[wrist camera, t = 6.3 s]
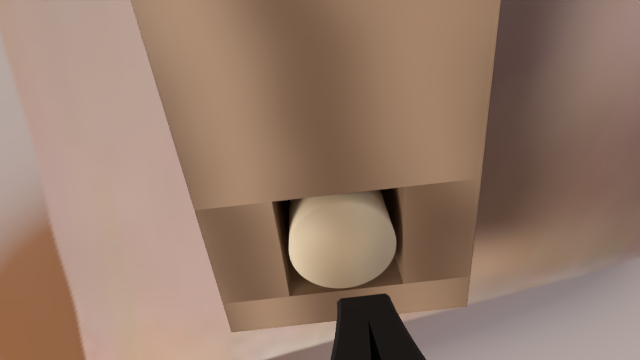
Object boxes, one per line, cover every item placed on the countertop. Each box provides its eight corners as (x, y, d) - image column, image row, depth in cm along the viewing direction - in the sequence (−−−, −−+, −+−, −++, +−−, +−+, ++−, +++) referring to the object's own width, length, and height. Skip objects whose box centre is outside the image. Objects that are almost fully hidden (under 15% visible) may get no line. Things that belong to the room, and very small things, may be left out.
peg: (373, 139, 19) (396, 197, 15) (376, 212, 21) (396, 282, 17) (284, 149, 19) (281, 210, 15) (295, 221, 21) (295, 293, 17)
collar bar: (459, -325, 12) (552, -469, 8) (433, 233, 22) (466, 306, 18) (110, -284, 12) (7, -403, 8) (244, 254, 22) (231, 332, 18)
